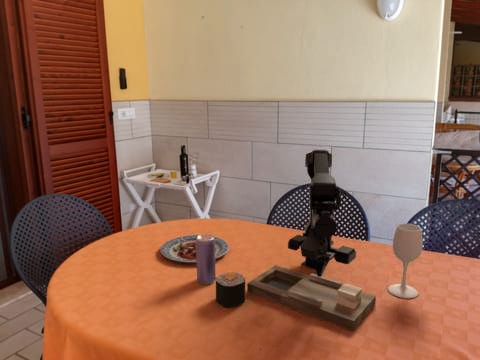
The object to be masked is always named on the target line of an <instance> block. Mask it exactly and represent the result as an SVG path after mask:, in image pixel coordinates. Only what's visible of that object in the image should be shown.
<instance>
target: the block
mask: <svg viewBox="0 0 480 360" xmlns="http://www.w3.org/2000/svg"><path fill="white" fill-rule="evenodd" d="M362 292H363V288H362V287H359V286H354V285H352V284H349V283H344V284H342V287H341V288H340V289H338V292H337V304H340V305H343V306H346V307H349V308H352V309H355V308H356V307H357V306H358V304H359V303H360V302H361V297H362Z"/></svg>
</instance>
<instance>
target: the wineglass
mask: <svg viewBox="0 0 480 360" xmlns="http://www.w3.org/2000/svg"><path fill="white" fill-rule="evenodd" d="M422 230H423V229H422V227H420V226H419V225H416V224H413V223H399V224H398V225H397V226H396V228H395V231H394V234H393V235H394V236H393V239H392V251H393V254H394V255H395V257H396V258H397V259H398V260H399V261H400V262H402V265H403V268H402V269H403V270H402V278H401V283H394V284H391V285H389V286H388V287H387V291H388V292H389V293H390V294H391V295H392V296H395V297H398V298H401V299H410V300H411V299H414V298H417V297H418V295H419V292H418V290H416V288H415V287H412V286H410V285H408V284H407V270H408V266H409V264H410V263H413V262H414V261H417V259H419V258H420V256H421V254H422V251H423V246H424V245H423V243H424V242H423V231H422Z"/></svg>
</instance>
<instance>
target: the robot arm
mask: <svg viewBox="0 0 480 360" xmlns="http://www.w3.org/2000/svg"><path fill="white" fill-rule="evenodd" d="M304 159H305V160H304V167H305V168H306V172H307V173H306V174H307V175H308V176H309V178H310V185H309V190H308V191H309V193H308V194H309V195H308V198H309V201H308V203H309V220H308V222H307V224H306V225H305V226H304V232H302V235H301V234H297V235H295V236H293V237H291V238H290V239H288V242H287V248H288V249H289V250H292V251H295V252H296V251H298V250H300V253H301V256H302V257H303V258H305V260H304V261H302V262H301V263H300V264H301V266H304V267H307V268H310V269H314V270H315V273H316V275H317V276H318V277H321V276H322V277H323V274H324V272H325V270H326V268H327V266H328V264H329V262H330V261H331V260H332V259H334V260H335V262H336V263H340V264H343V265H349V264H350V263H351V262H352V261H354V260H355V259H356V258H357V251H356V250H355V247H349V246H345V245H342V246H340V247H339V248H337V247H333V246H334V240H333V236H334V235H335V234H336V233H337V230H338V225H337V222H336V219H335V216H334V211H339V210H340V206H341V205H342V200H341V199H342V197H341V189H340V187H339V186H338V185H337V183H336V179H335V178H334V177H333V176H331V174H330V168H331V167H332V166H333V154H332V153H330V152H329V150H327V149H313V150H311V152H308V153H306V154H305V158H304Z"/></svg>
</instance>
